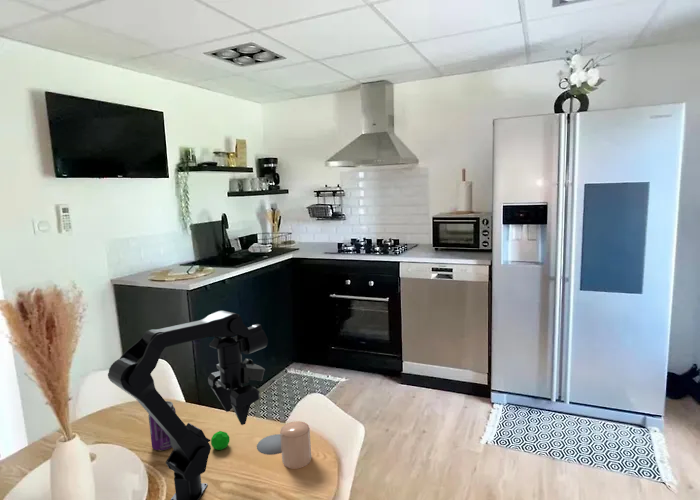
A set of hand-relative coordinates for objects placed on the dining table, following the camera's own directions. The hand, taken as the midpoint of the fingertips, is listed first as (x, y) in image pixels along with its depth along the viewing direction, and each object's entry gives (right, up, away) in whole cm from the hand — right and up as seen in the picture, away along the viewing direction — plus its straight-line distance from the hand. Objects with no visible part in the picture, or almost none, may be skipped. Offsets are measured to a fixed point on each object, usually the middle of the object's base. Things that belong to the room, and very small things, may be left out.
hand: (235, 417), depth 114 cm
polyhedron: (-7, -13, +9) cm, 17 cm away
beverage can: (-23, -13, +12) cm, 29 cm away
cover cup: (+16, -12, +2) cm, 20 cm away
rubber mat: (+9, -11, +10) cm, 17 cm away
